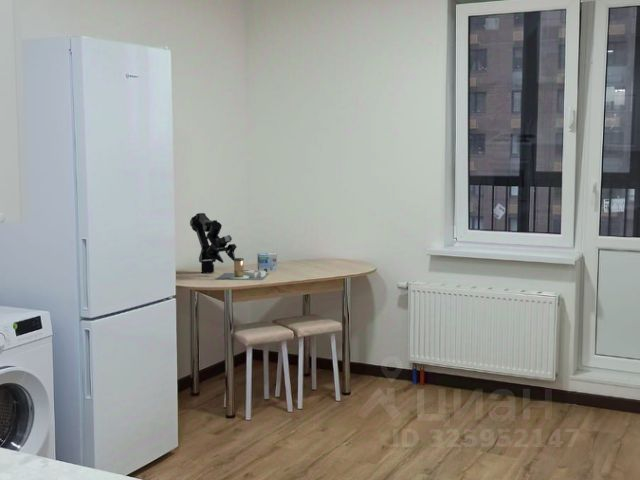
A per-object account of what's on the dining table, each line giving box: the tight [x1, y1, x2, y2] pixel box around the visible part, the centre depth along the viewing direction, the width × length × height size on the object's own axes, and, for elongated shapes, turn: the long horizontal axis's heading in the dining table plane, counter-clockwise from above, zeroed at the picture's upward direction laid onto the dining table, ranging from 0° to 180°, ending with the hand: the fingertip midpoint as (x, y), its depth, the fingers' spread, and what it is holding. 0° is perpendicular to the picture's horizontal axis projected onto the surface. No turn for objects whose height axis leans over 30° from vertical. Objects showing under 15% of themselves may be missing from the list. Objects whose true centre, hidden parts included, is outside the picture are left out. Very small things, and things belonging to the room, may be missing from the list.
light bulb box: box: [257, 252, 278, 273], centre depth 448 cm, size 11×7×11 cm, turn 105°
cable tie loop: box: [244, 269, 267, 277], centre depth 430 cm, size 11×9×3 cm
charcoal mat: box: [215, 272, 270, 281], centre depth 428 cm, size 26×24×1 cm
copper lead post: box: [233, 257, 245, 277], centre depth 421 cm, size 5×5×10 cm
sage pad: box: [229, 275, 249, 281], centre depth 422 cm, size 11×11×1 cm
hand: (229, 261), depth 427 cm, fingers open, 9 cm apart
